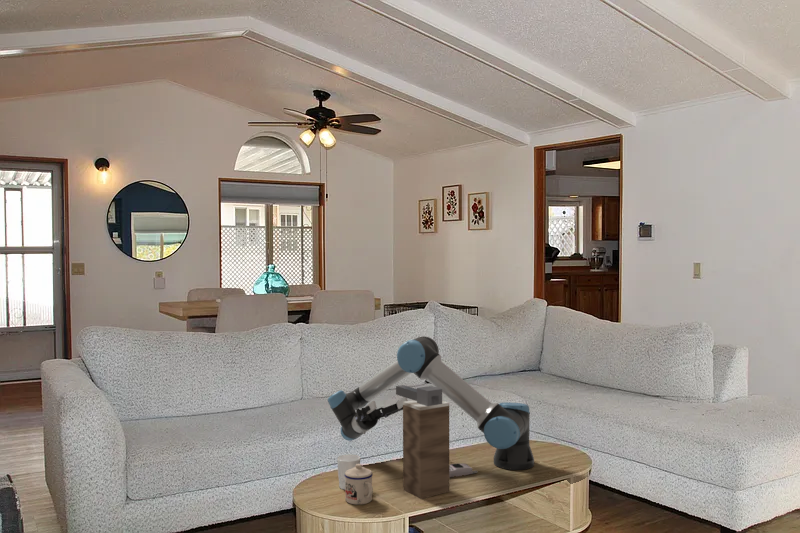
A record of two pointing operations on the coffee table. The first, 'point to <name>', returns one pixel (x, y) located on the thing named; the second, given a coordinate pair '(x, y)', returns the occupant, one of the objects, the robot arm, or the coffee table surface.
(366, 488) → the teacup with lid
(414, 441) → the brown wooden tall block
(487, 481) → the coffee table surface
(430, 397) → the gray block
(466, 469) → the mobile phone
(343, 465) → the white cup
